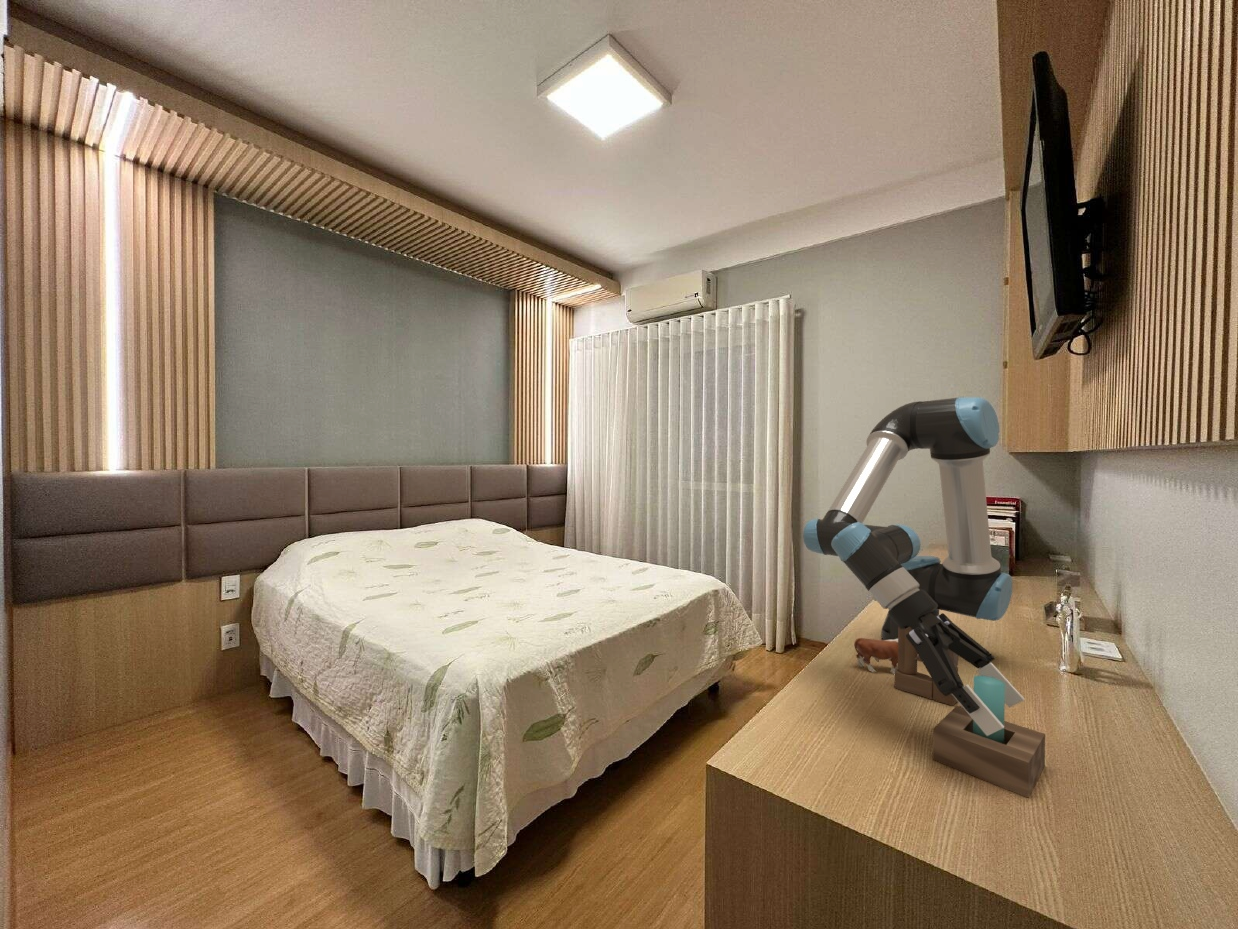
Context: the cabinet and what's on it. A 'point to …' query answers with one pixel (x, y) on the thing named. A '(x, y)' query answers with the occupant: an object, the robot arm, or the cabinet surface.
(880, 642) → the bull figurine
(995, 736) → the peg
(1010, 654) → the cabinet surface
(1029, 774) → the socket block
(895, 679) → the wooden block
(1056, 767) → the cabinet surface
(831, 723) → the cabinet surface
